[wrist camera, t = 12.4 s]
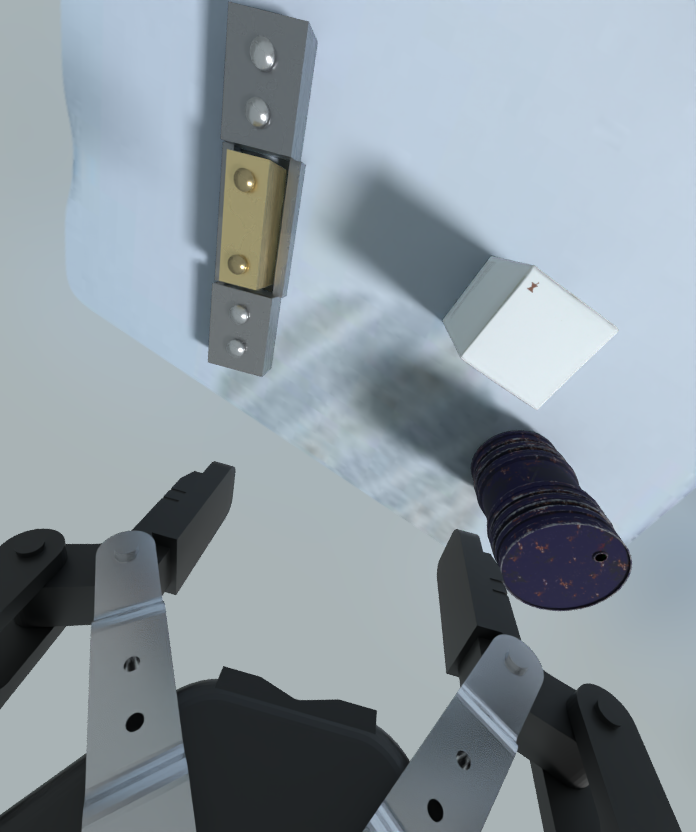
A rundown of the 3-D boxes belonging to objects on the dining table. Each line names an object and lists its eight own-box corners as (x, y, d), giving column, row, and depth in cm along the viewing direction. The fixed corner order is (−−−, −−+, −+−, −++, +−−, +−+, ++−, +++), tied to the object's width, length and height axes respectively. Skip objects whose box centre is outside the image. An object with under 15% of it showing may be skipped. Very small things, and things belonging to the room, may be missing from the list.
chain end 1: (238, 22, 29) (218, -6, 26) (323, 43, 29) (313, 18, 26) (225, 217, 35) (207, 214, 32) (295, 235, 35) (284, 234, 32)
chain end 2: (225, 217, 35) (207, 214, 32) (295, 235, 35) (284, 234, 32) (216, 353, 42) (200, 362, 38) (275, 369, 41) (264, 380, 38)
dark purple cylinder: (493, 512, 46) (530, 624, 33) (454, 455, 43) (476, 551, 30) (574, 478, 42) (653, 588, 29) (537, 413, 40) (604, 502, 26)
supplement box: (439, 321, 37) (455, 357, 26) (491, 253, 34) (535, 260, 22) (496, 361, 38) (536, 413, 27) (552, 299, 35) (624, 329, 23)
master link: (250, 161, 33) (223, 147, 28) (287, 170, 33) (267, 158, 28) (240, 275, 38) (215, 281, 33) (273, 284, 38) (253, 291, 33)
